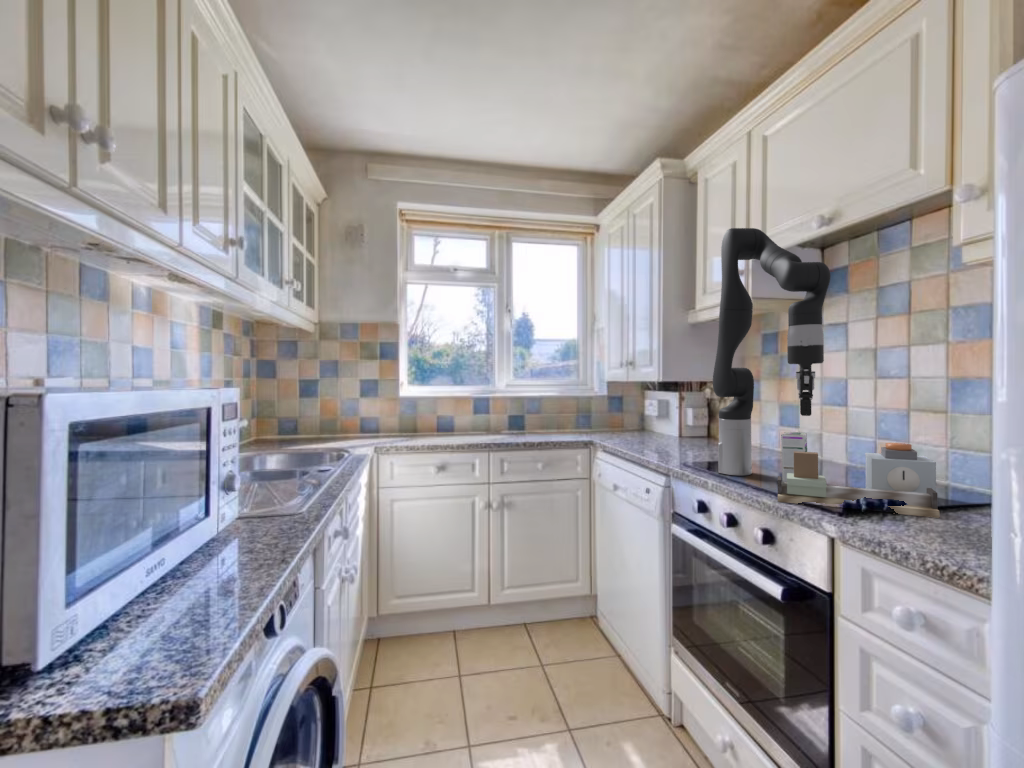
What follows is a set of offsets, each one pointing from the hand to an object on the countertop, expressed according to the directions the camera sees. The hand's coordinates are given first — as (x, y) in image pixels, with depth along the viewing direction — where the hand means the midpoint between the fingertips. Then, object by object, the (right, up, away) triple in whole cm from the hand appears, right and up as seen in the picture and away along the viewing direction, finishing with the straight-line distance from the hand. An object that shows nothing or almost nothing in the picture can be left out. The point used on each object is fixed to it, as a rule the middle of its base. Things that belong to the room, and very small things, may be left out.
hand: (805, 414), depth 116 cm
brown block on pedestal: (0, -19, 0) cm, 19 cm away
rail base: (+8, -21, -4) cm, 23 cm away
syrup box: (+8, -21, +17) cm, 28 cm away
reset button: (+24, -10, +1) cm, 26 cm away
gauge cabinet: (+24, -21, +2) cm, 32 cm away
